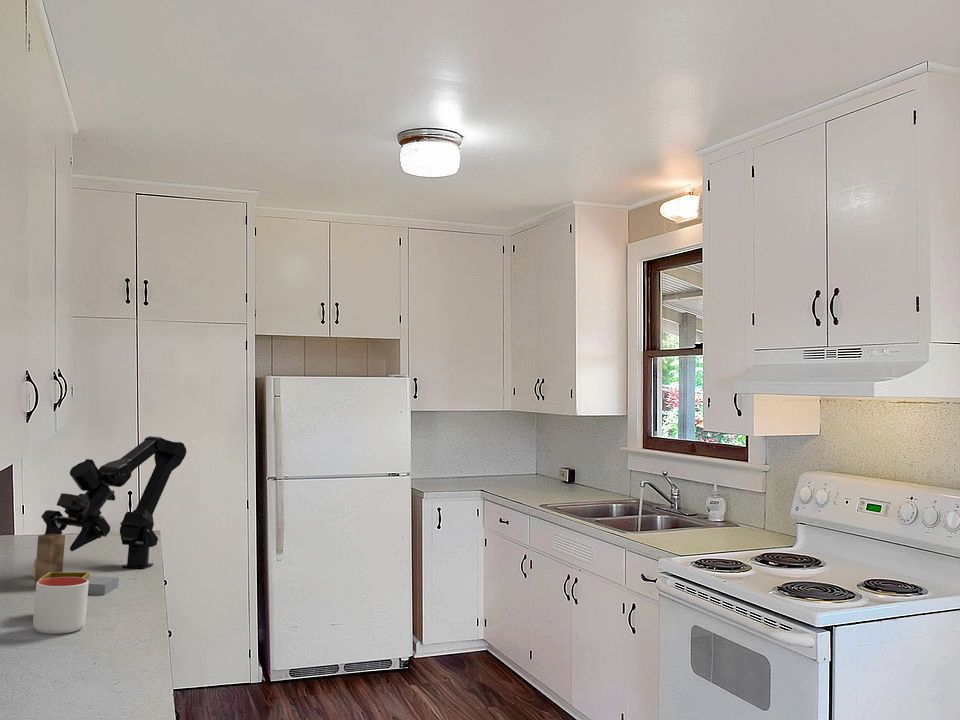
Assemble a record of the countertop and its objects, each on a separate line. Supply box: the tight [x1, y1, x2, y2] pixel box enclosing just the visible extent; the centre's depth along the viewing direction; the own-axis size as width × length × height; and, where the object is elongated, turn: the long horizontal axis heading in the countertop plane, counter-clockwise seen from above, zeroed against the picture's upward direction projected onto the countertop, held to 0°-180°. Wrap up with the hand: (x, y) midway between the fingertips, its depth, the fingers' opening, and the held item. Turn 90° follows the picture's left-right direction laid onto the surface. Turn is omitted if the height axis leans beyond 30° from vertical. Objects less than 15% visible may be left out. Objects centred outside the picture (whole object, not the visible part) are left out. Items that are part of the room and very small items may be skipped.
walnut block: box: [33, 534, 66, 588], centre depth 221 cm, size 4×4×13 cm
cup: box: [32, 577, 89, 635], centre depth 183 cm, size 10×10×10 cm
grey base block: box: [88, 575, 119, 596], centre depth 219 cm, size 9×9×3 cm
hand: (56, 548), depth 223 cm, fingers open, 9 cm apart
